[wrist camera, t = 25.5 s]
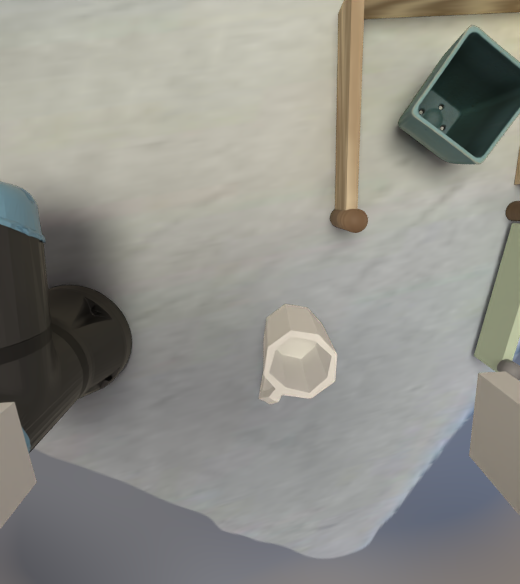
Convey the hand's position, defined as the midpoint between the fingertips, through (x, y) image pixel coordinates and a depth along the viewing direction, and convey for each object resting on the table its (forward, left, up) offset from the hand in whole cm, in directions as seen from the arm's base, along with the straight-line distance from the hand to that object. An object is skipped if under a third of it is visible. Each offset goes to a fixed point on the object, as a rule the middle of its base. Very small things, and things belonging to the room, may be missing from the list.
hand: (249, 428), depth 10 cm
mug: (+3, -13, -36) cm, 38 cm away
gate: (+31, -6, -35) cm, 47 cm away
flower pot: (+21, +15, -36) cm, 44 cm away
